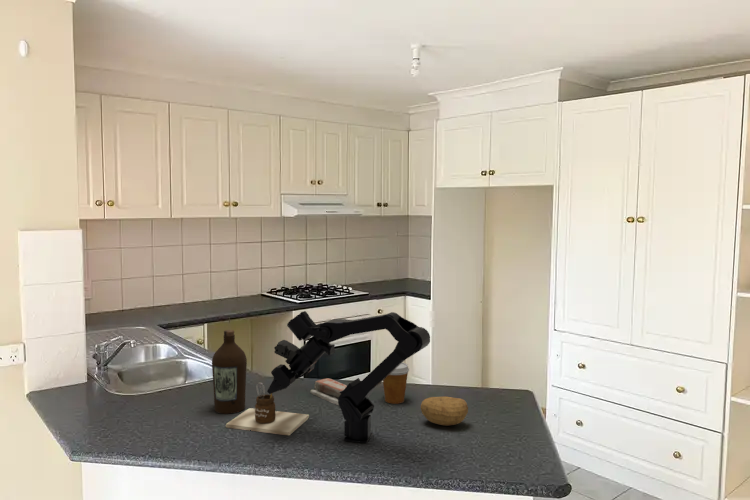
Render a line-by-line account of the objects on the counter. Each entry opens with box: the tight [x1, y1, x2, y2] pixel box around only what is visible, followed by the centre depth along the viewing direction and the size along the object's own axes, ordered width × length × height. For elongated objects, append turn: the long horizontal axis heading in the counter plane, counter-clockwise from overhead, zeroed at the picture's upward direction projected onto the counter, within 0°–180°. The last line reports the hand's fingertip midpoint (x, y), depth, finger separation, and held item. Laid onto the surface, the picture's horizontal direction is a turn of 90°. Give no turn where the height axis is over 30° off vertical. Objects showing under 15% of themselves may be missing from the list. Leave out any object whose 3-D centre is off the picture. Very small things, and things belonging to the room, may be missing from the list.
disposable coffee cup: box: [382, 362, 410, 405], centre depth 187 cm, size 10×10×12 cm
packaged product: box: [310, 377, 348, 407], centre depth 191 cm, size 18×5×10 cm
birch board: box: [225, 407, 310, 436], centre depth 167 cm, size 20×14×1 cm
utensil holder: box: [254, 382, 277, 424], centre depth 165 cm, size 6×6×12 cm
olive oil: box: [211, 329, 248, 415], centre depth 177 cm, size 11×11×25 cm
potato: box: [420, 396, 469, 427], centre depth 166 cm, size 10×14×8 cm
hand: (275, 387), depth 164 cm, fingers open, 9 cm apart
